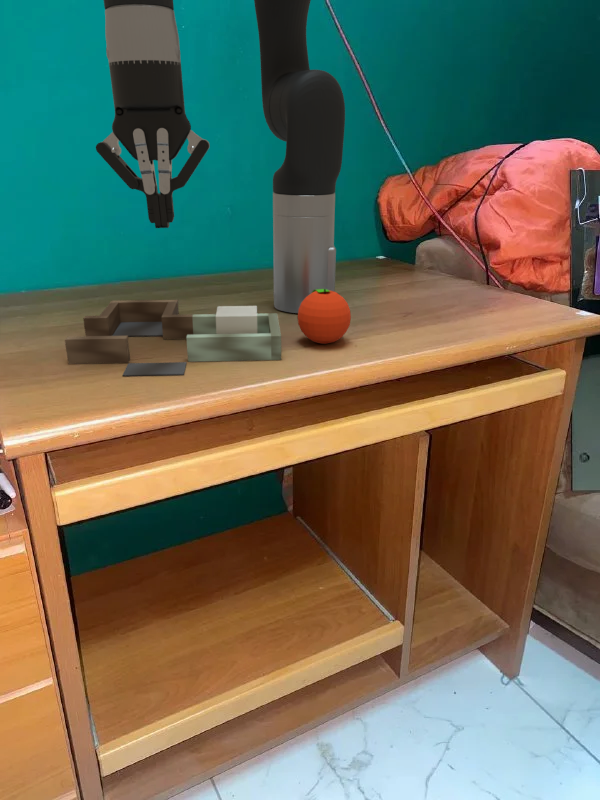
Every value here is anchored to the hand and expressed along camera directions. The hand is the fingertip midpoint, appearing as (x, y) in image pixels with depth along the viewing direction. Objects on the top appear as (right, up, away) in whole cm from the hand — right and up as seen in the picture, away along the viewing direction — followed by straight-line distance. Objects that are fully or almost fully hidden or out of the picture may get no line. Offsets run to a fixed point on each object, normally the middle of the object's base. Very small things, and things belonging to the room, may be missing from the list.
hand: (162, 226), depth 74 cm
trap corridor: (+1, -13, +8) cm, 15 cm away
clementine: (+19, -13, +9) cm, 25 cm away
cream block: (+8, -14, +6) cm, 17 cm away
